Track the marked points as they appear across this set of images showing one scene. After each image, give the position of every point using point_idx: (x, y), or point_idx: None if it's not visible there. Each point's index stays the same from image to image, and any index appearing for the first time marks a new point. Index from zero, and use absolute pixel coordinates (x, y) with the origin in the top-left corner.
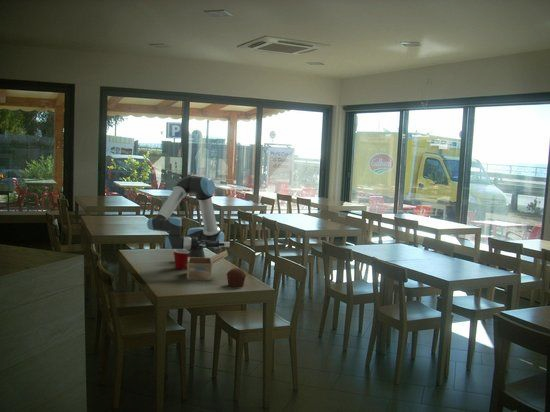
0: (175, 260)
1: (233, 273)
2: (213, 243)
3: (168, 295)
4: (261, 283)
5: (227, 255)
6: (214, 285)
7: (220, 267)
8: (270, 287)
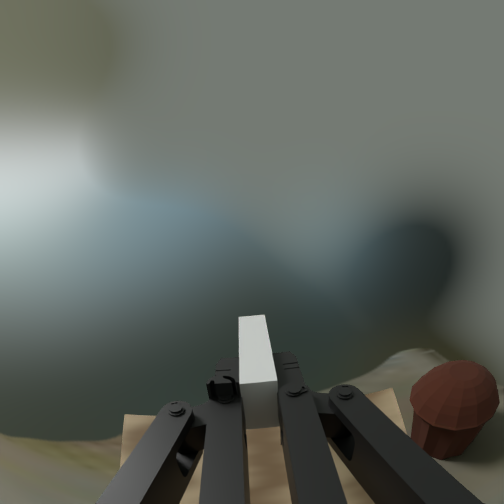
0: None
1: (495, 381)
2: (394, 426)
3: None
4: (350, 382)
5: (389, 391)
6: (492, 495)
7: (22, 491)
8: (393, 356)
